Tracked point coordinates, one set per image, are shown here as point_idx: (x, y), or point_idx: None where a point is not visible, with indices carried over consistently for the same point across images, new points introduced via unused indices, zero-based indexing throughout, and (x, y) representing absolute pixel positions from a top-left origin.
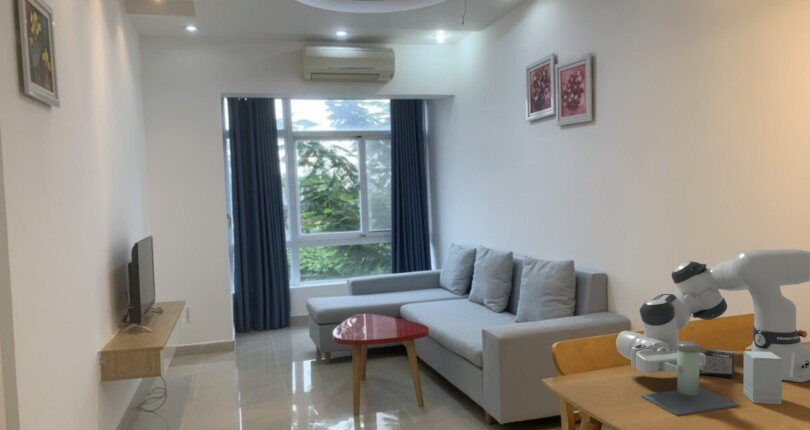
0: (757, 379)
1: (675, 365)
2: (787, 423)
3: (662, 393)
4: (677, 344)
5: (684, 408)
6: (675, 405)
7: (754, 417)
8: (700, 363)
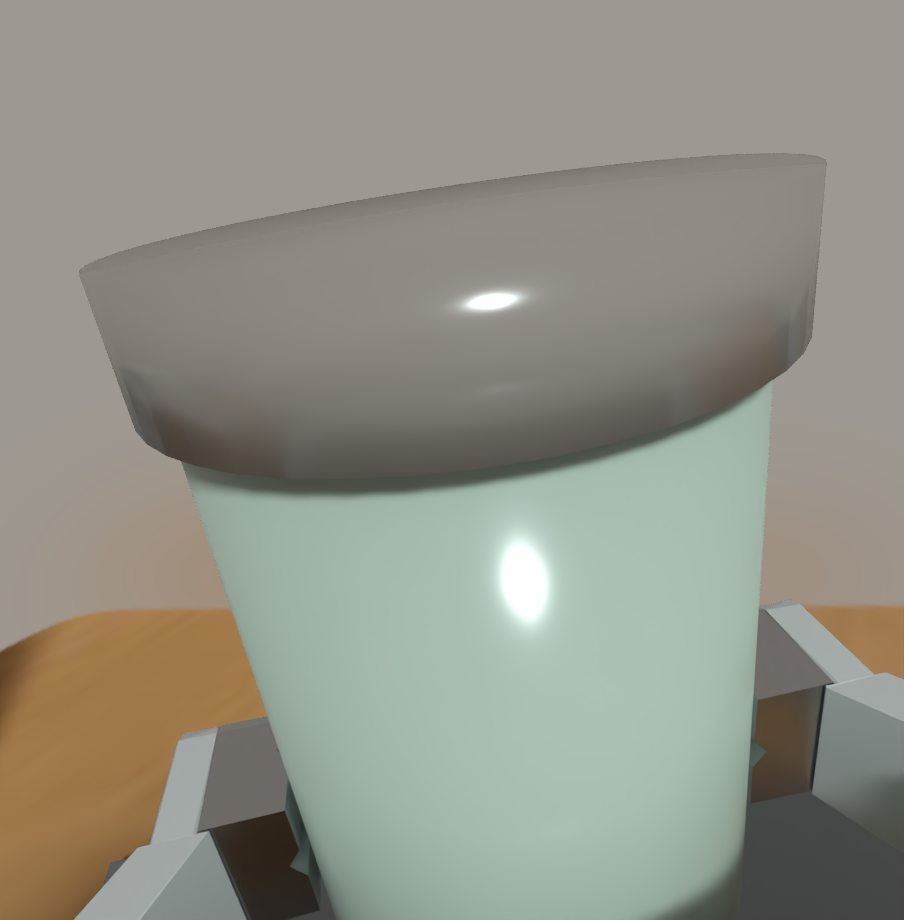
0: None
1: (814, 667)
2: (151, 609)
3: None
4: (803, 154)
5: None
6: (795, 875)
7: (239, 674)
8: (184, 761)
